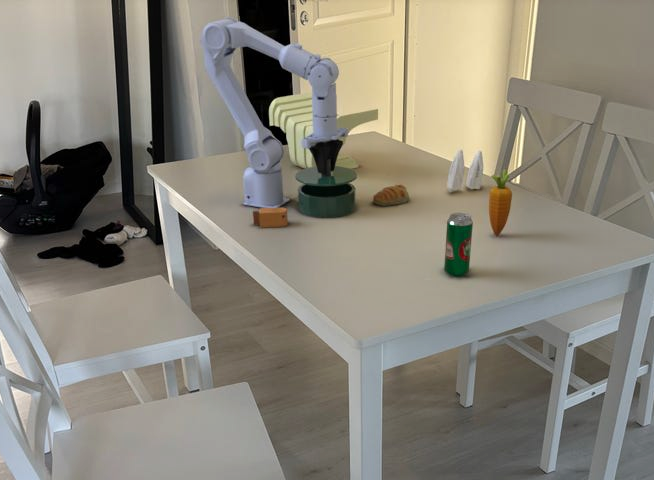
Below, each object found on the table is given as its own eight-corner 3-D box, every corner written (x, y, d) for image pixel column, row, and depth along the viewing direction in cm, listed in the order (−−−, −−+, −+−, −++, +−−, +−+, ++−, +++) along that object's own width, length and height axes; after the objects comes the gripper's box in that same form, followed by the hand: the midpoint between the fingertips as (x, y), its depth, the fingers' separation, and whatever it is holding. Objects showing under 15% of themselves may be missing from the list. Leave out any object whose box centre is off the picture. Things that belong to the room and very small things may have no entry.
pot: (340, 221, 178) (339, 201, 176) (288, 212, 183) (287, 193, 181) (364, 203, 189) (364, 184, 187) (315, 195, 194) (314, 177, 192)
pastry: (383, 209, 185) (383, 194, 183) (366, 202, 190) (366, 188, 188) (411, 201, 190) (411, 186, 188) (394, 195, 195) (394, 180, 193)
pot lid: (340, 192, 174) (340, 170, 171) (284, 183, 179) (282, 162, 177) (367, 174, 186) (367, 154, 183) (313, 167, 191) (312, 147, 189)
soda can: (441, 267, 154) (445, 212, 148) (465, 266, 155) (470, 211, 148) (446, 278, 150) (450, 221, 144) (471, 277, 150) (475, 220, 144)
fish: (253, 228, 175) (252, 213, 173) (254, 222, 178) (253, 208, 176) (287, 226, 175) (286, 212, 173) (287, 221, 178) (286, 207, 176)
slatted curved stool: (272, 160, 222) (268, 99, 213) (314, 151, 231) (312, 91, 222) (332, 184, 202) (331, 117, 193) (377, 173, 211) (378, 108, 202)
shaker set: (450, 196, 193) (453, 154, 187) (440, 192, 196) (443, 150, 190) (485, 188, 198) (489, 147, 193) (475, 184, 201) (478, 143, 196)
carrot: (494, 241, 166) (500, 175, 159) (481, 234, 170) (486, 169, 162) (512, 237, 168) (519, 172, 161) (498, 230, 172) (505, 166, 164)
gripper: (316, 123, 168) (318, 182, 175) (357, 111, 177) (357, 168, 184) (293, 118, 171) (296, 176, 178) (335, 107, 181) (336, 162, 188)
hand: (326, 171), depth 182 cm, fingers closed on pot lid, 2 cm apart
